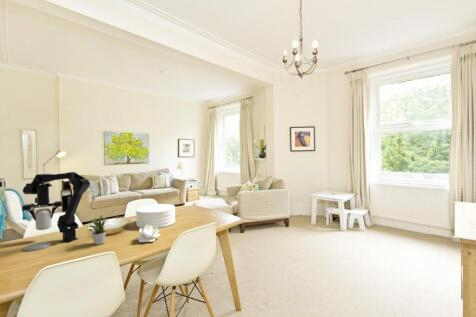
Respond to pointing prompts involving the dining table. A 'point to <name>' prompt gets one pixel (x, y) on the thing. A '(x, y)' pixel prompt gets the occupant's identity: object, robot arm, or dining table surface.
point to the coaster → (37, 246)
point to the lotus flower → (148, 234)
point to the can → (43, 219)
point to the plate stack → (155, 215)
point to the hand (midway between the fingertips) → (43, 219)
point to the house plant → (98, 230)
